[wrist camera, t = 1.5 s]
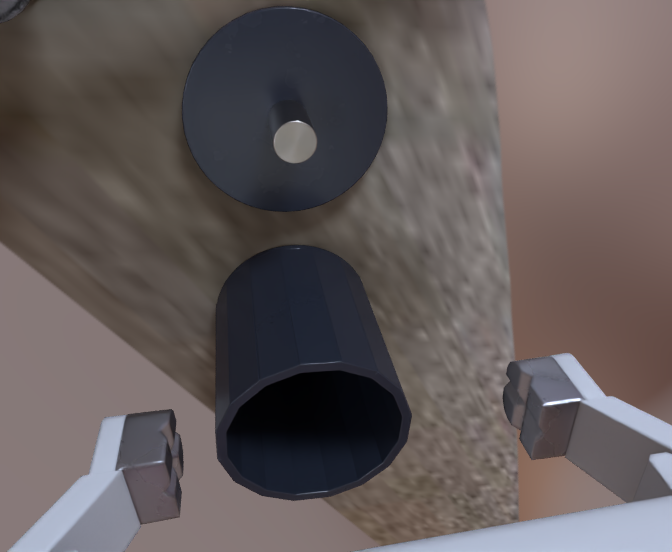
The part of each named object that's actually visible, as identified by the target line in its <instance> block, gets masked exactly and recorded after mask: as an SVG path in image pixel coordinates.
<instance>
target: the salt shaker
mask: <svg viewBox="0 0 672 552" xmlns="http://www.w3.org/2000/svg"><path fill="white" fill-rule="evenodd" d="M29 2H30V0H0V23H2V22H6V21H9V20H11V19H12V18H13V17H15V16H16V15H18V14H19V13H21V12H22V11H23V10H24V8H25V7H26V6H27V4H28V3H29Z"/></svg>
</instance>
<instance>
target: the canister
mask: <svg viewBox="0 0 672 552" xmlns="http://www.w3.org/2000/svg"><path fill="white" fill-rule="evenodd" d="M215 416H216V417H215V421H216V422H215V428H216V429H215V434H216V448H217V459H218V461H219V462H220V463H221V465H222V466H223V467H224V469H225V470H226V471H227V473H228V474H229V475H230V477H231V478H232V479H233V481H235V482H236V483H238V484H240V485H242V486H244V487H246V488H248V489H249V490H251V491H253V492H256V493H257V494H259V495H261V496H266V497H273V498H279V499H286V500H293V501H294V500H305V499H314V498H324V497H329V496H330V497H331V496H333V495H336V494H339V493H342V492H344V491H347V490H350V489H352V488H355V487H358V486H361V485H362V484H364V483H366V482H367V481H369V480H370V479H371V478H373V477H374V476H376V475H377V474H378V473H380V472H381V471H383V470H384V469H386V468H387V467H388V466H389V465H390V464H391V463H392V462H393V460H394V459H395V457H396V456H397V455H398V453H399V452H400V451H401V449H402V448H403V446H404V445H405V444H406V442H407V439H408V434H409V428H410V423H411V418H412V413H411V411H410V408H409V405H408V403H407V400H406V397H405V395H404V392H403V390H402V387H401V384H400V382H399V379H398V376H397V374H396V371H395V368H394V366H393V363H392V361H391V358H390V355H389V353H388V350H387V347H386V345H385V342H384V339H383V337H382V334H381V332H380V329H379V326H378V324H377V321H376V318H375V316H374V313H373V310H372V308H371V305H370V303H369V300H368V297H367V295H366V292H365V290H364V287H363V284H362V282H361V279H360V277H359V275H358V274H357V273H356V272H355V270H354V269H353V268H352V267H351V266H350V265H349V264H348V263H347V262H346V261H345V260H343V259H342V258H341V257H339V256H337V255H335V254H334V253H331V252H329V251H327V250H324V249H321V248H317V247H312V246H305V245H290V246H282V247H277V248H273V249H269V250H266V251H263V252H261V253H259V254H257V255H255V256H253V257H251V258H250V259H248V260H246V261H245V262H244V263H242V264H241V265H240V266H239V267H237V268H236V270H235V271H234V272H233V273H232V274H231V275H230V276H229V278H228V279H227V280H226V282H225V283H224V285H223V287H222V289H221V292H220V294H219V297H218V302H217V304H216V412H215Z"/></svg>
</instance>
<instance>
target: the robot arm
mask: <svg viewBox="0 0 672 552" xmlns="http://www.w3.org/2000/svg"><path fill="white" fill-rule="evenodd" d="M506 374H507V376H508V378H509V379H510V382H509V383H508V384H507V385H506V386H505V387H504V391H503V404H504V410H505V413H506V415H507V418H508V420H509V421H510V423H511V425H512V426H514V427H516V428H517V429H519V430H521V433H520V438H519V439H520V441H521V443H522V444H523V446H524V448H525V450H526V451H527V453H528V454H529V456H530V458H531V460H536V459H544V458H551V457H559V456H565V458H567V459H568V460H569V461H571V462H572V463H573V464H575V465H576V466H577V467H579V468H580V469H582V470H583V471H585V472H586V473H587V474H588V475H590V476H591V477H593V478H594V479H595V480H596V481H598V482H599V483H601V484H602V485H603V486H605V487H606V488H607V489H609V490H610V491H611V492H613V493H614V494H616V495H617V496H618V497H620V498H621V499H622V500H624V501H625V502H626V503H625V504H620V505H613V506H608V507H602V508H596V509H591V510H585V511H579V512H573V513H568V514H562V515H556V516H551V517H545V518H539V519H534V520H528V521H523V522H517V523H511V524H505V525H499V526H494V527H488V528H482V529H477V530H471V531H465V532H460V533H454V534H448V535H443V536H437V537H431V538H426V539H420V540H414V541H409V542H403V543H397V544H391V545H386V546H380V547H374V548H369V549H364V550H358V551H352V552H672V425H670V424H668V423H666V422H664V421H662V420H660V419H658V418H656V417H653V416H652V415H650V414H648V413H646V412H643V411H641V410H639V409H637V408H635V407H633V406H631V405H629V404H627V403H625V402H623V401H621V400H619V399H617V398H615V397H613V396H610V397H606V396H605V394H604V393H603V392H602V391H601V390H600V388H599V387H598V386H597V385H596V383H595V382H594V381H593V380H592V378H591V377H590V376H589V375H588V374H587V372H586V371H585V370H584V369H583V367H582V366H581V365H580V364H579V363H578V361H577V360H576V359H575V358H574V356H573V355H571V354H569V353H564V354H558V355H551V356H548V357H539V358H532V359H526V360H519V361H512V362H510V363H509V365H508V367H507V373H506ZM175 430H176V418H175V415H174V411H173V410H172V409H169V410H160V411H151V412H143V413H135V414H128V415H122V416H112V417H105V418H104V419H103V421H102V422H101V426H100V430H99V434H98V438H97V442H96V446H95V450H94V454H93V458H92V462H91V466H90V470H89V474H88V475H84V476H81V477H80V478H79V479H78V480H77V481H76V482H75V483H74V484H73V485H72V486H71V487H70V488H69V489H68V490H67V491H66V492H65V493H64V494H63V495H62V496H61V498H59V499H58V500H57V502H55V504H54V505H53V506H52V507H51V508H50V509H49V510H48V511H47V512H46V513H45V514H44V515H43V516H42V517H41V518H40V519H39V520H38V521H37V522H36V523H35V524H34V525H33V526H32V527H31V528H30V529H29V530H28V531H27V532H26V533H25V534H24V535H23V536H22V537H21V538H20V539H19V540H18V541H17V542H16V543H15V544H14V545H13V546H12V547H11V548H10V549H9V550H8V551H7V552H125V550H126V549H127V547H128V546H129V544H130V543H131V541H132V540H133V538H134V537H135V535H136V533H137V532H138V530H139V529H140V528H141V524H147V523H152V522H157V521H163V520H168V519H172V518H178V517H180V507H181V494H182V491H181V487H180V484H179V480H180V478H181V477H182V476H183V449H182V442H181V438H180V435H179V434H178V433H176V432H175Z"/></svg>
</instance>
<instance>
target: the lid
mask: <svg viewBox="0 0 672 552" xmlns="http://www.w3.org/2000/svg"><path fill="white" fill-rule="evenodd" d="M182 120H183V127H184V133H185V136H186V140H187V143H188V146H189V148H190V150H191V153H192V155H193V157H194V159H195V160H196V162H197V164H198V165H199V167H200V169H201V170H202V171H203V172H204V174H205V175H206V176H207V177H208V178H209V179H210V180H211V181H212V182H213V183H214V184H215V185H216V186H217V187H218V188H219V189H221V190H222V191H223V192H225V193H226V194H227V195H229V196H231V197H232V198H234V199H236V200H238V201H240V202H242V203H244V204H247V205H249V206H252V207H256V208H259V209H263V210H270V211H281V212H289V211H300V210H305V209H310V208H313V207H316V206H319V205H322V204H324V203H326V202H329V201H331V200H333V199H335V198H336V197H338V196H339V195H341V194H343V193H344V192H345V191H347V190H348V189H349V188H350V187H352V186H353V185H354V184H355V183H356V182H357V181H358V180H359V179H360V178H361V177H362V176H363V174H364V173H365V172H366V171H367V169H368V168H369V167H370V165H371V163H372V162H373V160H374V158H375V157H376V155H377V152H378V150H379V148H380V146H381V143H382V140H383V136H384V133H385V128H386V122H387V95H386V90H385V85H384V81H383V78H382V75H381V72H380V70H379V67H378V65H377V63H376V62H375V60H374V58H373V56H372V54H371V53H370V52H369V50H368V49H367V47H366V46H365V45H364V44H363V42H362V41H361V40H360V39H359V38H358V37H357V36H356V35H355V34H354V33H353V32H352V31H350V30H349V29H348V28H347V27H345V26H344V25H343V24H341V23H340V22H338V21H336V20H335V19H333V18H331V17H329V16H327V15H325V14H322V13H320V12H318V11H314V10H310V9H306V8H301V7H293V6H274V7H268V8H263V9H258V10H255V11H252V12H249V13H246V14H244V15H242V16H240V17H238V18H236V19H234V20H232V21H231V22H229V23H228V24H226V25H225V26H223V27H222V28H220V29H219V30H218V31H217V32H216V33H215V34H214V35H213V36H212V37H211V38H210V39H209V40H208V41H207V42H206V44H205V45H204V46H203V47H202V48H201V50H200V51H199V53H198V55H197V56H196V58H195V60H194V61H193V64H192V66H191V68H190V71H189V73H188V76H187V80H186V83H185V87H184V92H183V101H182Z"/></svg>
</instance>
